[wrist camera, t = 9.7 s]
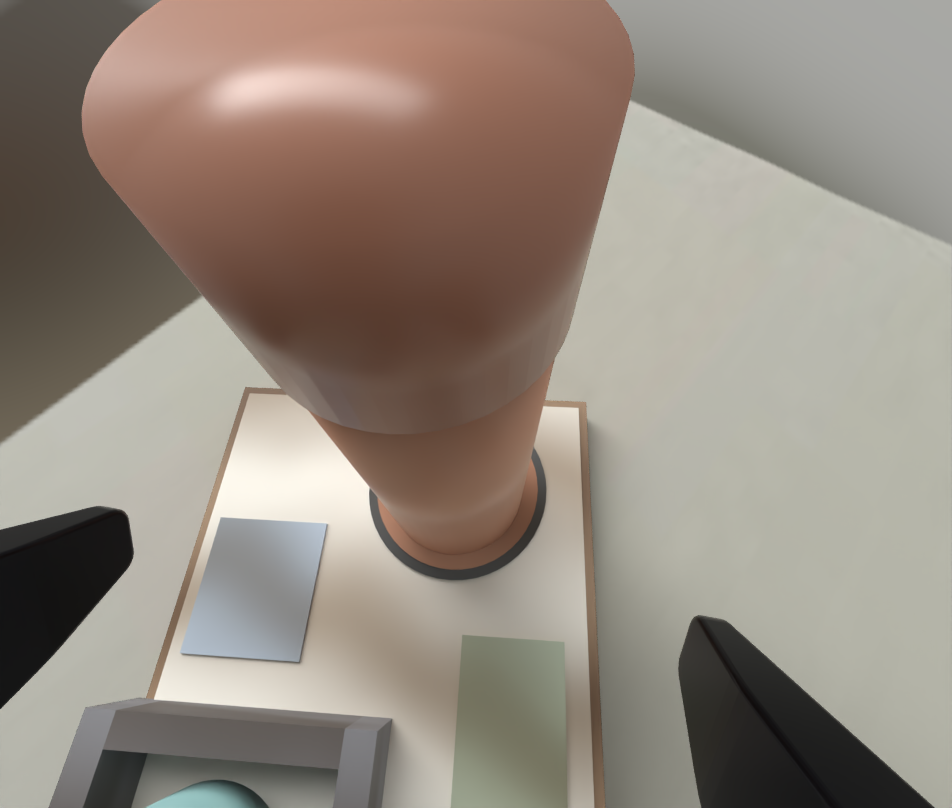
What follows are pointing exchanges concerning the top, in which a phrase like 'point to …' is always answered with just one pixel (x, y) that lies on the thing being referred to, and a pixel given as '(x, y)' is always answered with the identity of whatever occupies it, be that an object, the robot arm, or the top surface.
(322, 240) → the terracotta tall rounded cylinder
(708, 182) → the top surface
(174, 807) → the button
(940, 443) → the top surface
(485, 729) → the cream board
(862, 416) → the top surface
